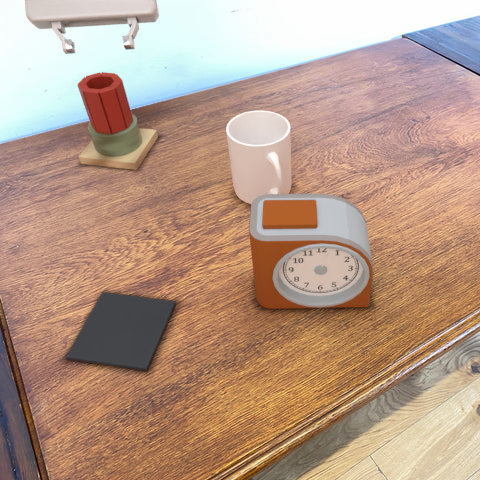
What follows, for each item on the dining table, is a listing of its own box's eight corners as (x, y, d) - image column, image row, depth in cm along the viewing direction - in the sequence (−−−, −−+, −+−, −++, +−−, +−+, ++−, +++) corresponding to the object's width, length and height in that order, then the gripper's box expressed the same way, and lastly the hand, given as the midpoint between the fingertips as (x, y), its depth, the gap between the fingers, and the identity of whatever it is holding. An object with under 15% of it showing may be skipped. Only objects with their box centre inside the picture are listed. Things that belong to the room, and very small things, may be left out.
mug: (267, 163, 88) (263, 103, 80) (314, 197, 82) (315, 136, 74) (222, 187, 84) (213, 125, 75) (268, 225, 78) (264, 163, 69)
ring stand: (80, 163, 87) (58, 106, 79) (106, 131, 94) (88, 75, 86) (137, 170, 86) (120, 113, 79) (158, 136, 93) (145, 81, 86)
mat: (66, 359, 61) (65, 357, 61) (103, 294, 68) (102, 291, 68) (147, 371, 60) (146, 368, 60) (176, 304, 67) (175, 301, 67)
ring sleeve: (85, 131, 85) (71, 90, 79) (102, 111, 89) (89, 70, 84) (122, 135, 84) (110, 94, 79) (138, 114, 88) (127, 74, 83)
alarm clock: (255, 311, 66) (246, 238, 57) (258, 262, 72) (251, 189, 63) (368, 309, 67) (379, 236, 57) (362, 260, 73) (371, 187, 63)
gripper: (11, -42, 79) (24, 47, 79) (148, -48, 82) (159, 38, 82) (28, -22, 85) (39, 61, 86) (154, -28, 88) (165, 52, 89)
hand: (99, 50), depth 84 cm, fingers open, 8 cm apart
